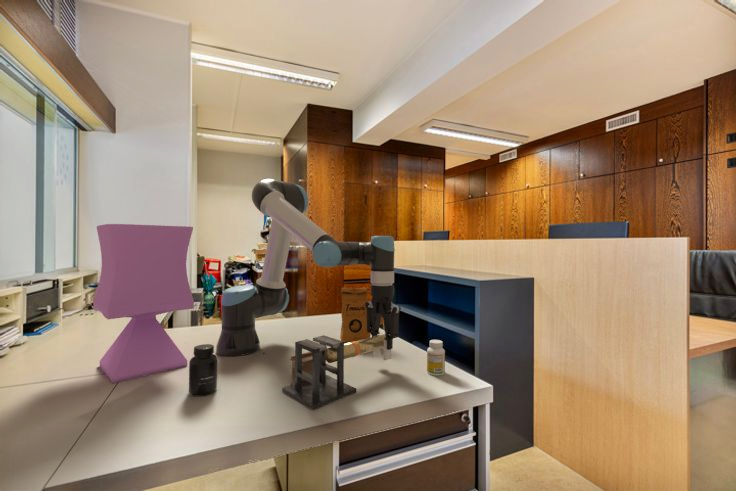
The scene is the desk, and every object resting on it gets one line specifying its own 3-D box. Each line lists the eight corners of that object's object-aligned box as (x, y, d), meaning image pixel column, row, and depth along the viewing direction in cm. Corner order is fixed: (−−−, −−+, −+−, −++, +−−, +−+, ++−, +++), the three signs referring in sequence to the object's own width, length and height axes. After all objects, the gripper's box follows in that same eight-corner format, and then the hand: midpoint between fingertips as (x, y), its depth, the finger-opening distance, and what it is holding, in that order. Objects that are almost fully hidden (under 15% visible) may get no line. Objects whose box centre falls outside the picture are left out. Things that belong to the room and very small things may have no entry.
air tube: (333, 365, 91) (334, 349, 91) (324, 361, 94) (324, 346, 94) (391, 348, 108) (392, 334, 108) (382, 344, 111) (382, 332, 111)
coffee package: (370, 345, 132) (370, 289, 132) (338, 344, 133) (339, 288, 133) (371, 338, 142) (371, 286, 142) (341, 337, 143) (342, 285, 143)
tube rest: (290, 376, 100) (290, 356, 100) (312, 370, 106) (312, 350, 106) (302, 383, 96) (303, 362, 96) (325, 375, 101) (325, 355, 101)
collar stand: (282, 391, 90) (282, 341, 90) (324, 377, 100) (324, 332, 100) (313, 410, 80) (313, 353, 80) (356, 392, 90) (356, 342, 90)
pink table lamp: (193, 365, 109) (194, 226, 109) (107, 386, 93) (108, 223, 93) (170, 350, 125) (171, 228, 125) (93, 366, 108) (93, 226, 108)
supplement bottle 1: (205, 398, 86) (206, 351, 86) (182, 395, 88) (182, 349, 88) (222, 387, 93) (222, 343, 93) (200, 384, 94) (201, 342, 94)
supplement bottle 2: (433, 368, 108) (433, 337, 108) (448, 372, 104) (448, 341, 104) (423, 372, 104) (423, 341, 104) (438, 377, 101) (438, 345, 101)
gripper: (410, 285, 104) (410, 361, 104) (371, 281, 116) (371, 349, 116) (395, 287, 99) (394, 367, 99) (355, 282, 111) (355, 353, 111)
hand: (381, 357), depth 108 cm, fingers closed on air tube, 4 cm apart
